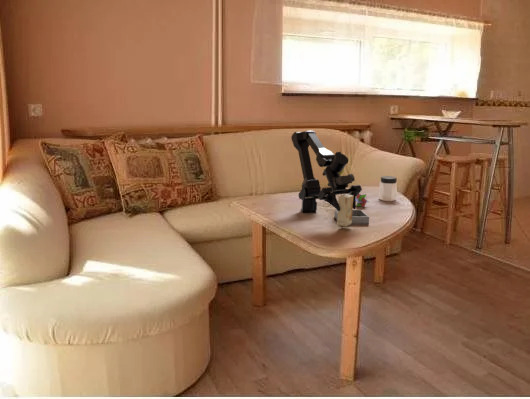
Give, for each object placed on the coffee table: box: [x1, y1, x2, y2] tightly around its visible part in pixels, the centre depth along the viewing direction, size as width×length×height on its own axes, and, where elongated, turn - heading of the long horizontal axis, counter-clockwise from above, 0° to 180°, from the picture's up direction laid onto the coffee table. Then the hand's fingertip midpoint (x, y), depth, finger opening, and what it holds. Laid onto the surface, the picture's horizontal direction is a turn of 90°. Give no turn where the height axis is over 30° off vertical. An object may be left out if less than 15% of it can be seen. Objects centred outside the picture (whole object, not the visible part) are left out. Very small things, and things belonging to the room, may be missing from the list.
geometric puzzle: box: [356, 193, 369, 208], centre depth 228 cm, size 7×7×8 cm
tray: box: [334, 209, 370, 226], centre depth 202 cm, size 12×12×4 cm
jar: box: [378, 175, 398, 202], centre depth 243 cm, size 9×8×12 cm
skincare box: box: [336, 194, 354, 227], centre depth 189 cm, size 6×4×12 cm
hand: (347, 209), depth 188 cm, fingers closed on skincare box, 7 cm apart
